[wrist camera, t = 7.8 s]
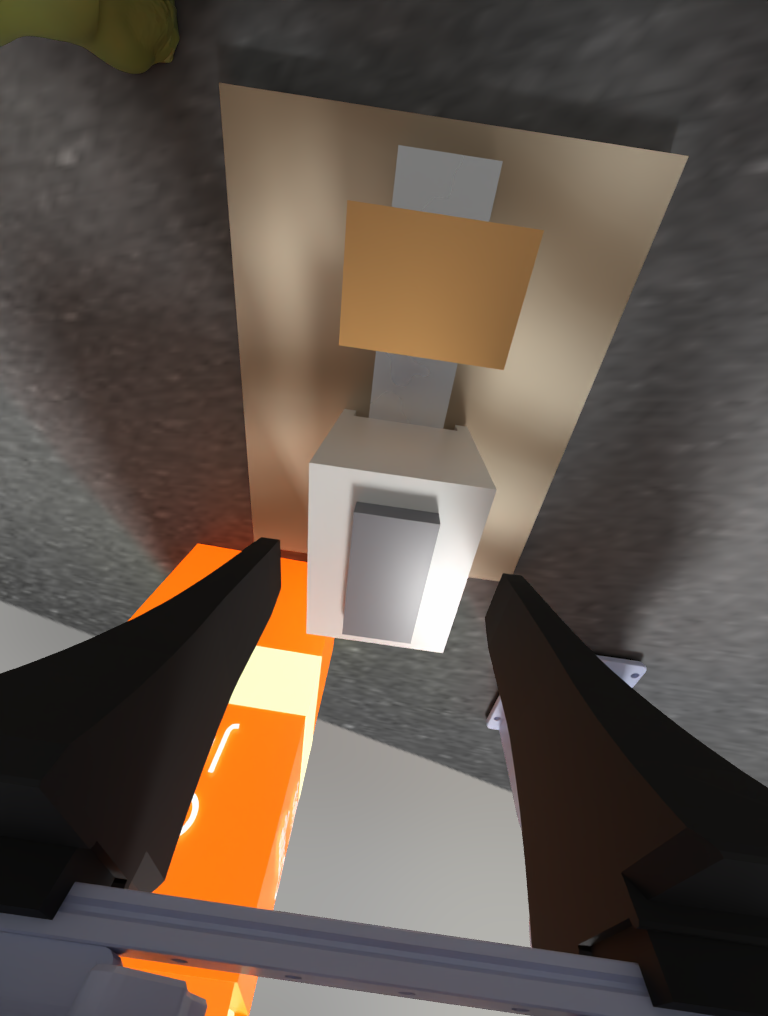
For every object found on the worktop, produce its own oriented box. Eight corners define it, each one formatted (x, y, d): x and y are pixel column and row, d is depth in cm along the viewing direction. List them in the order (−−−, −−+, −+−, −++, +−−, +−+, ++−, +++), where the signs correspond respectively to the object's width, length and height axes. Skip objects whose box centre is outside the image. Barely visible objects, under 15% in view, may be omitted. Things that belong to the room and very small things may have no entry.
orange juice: (196, 541, 20) (-1072, 1924, 3) (345, 567, 20) (-15, 1994, 3) (208, 630, 24) (-298, 1441, 7) (333, 651, 24) (145, 1487, 7)
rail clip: (483, 356, 12) (503, 370, 9) (354, 336, 12) (339, 345, 9) (510, 249, 10) (543, 230, 8) (363, 226, 10) (347, 199, 8)
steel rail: (412, 553, 18) (412, 566, 17) (356, 545, 18) (353, 557, 17) (495, 172, 11) (502, 161, 10) (399, 158, 11) (398, 144, 10)
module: (433, 556, 18) (444, 667, 13) (335, 542, 18) (301, 647, 12) (467, 426, 14) (501, 500, 9) (344, 408, 14) (303, 471, 9)
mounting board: (504, 570, 20) (508, 582, 19) (261, 535, 20) (254, 545, 19) (667, 167, 11) (688, 156, 10) (233, 99, 11) (218, 82, 10)
